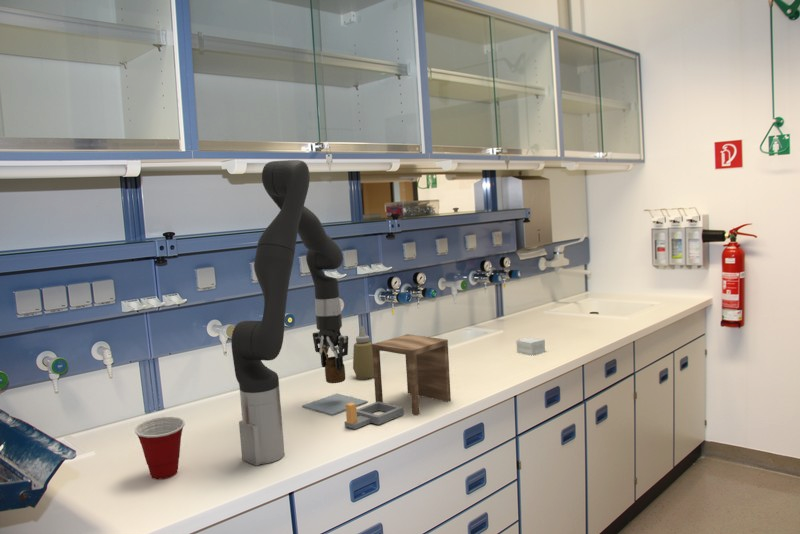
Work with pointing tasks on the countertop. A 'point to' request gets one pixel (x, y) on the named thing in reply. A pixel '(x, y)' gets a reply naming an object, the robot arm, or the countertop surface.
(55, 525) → the countertop surface
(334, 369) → the utensil holder
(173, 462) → the plastic cup
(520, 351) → the small box
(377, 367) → the walnut shelf
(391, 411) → the sliding frame
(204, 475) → the countertop surface
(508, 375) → the countertop surface
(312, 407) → the slate mat
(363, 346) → the squeeze bottle
